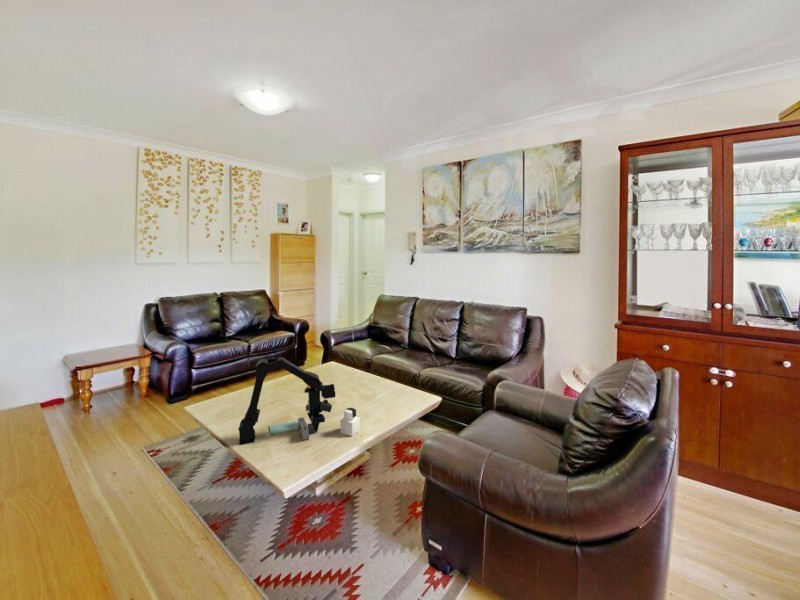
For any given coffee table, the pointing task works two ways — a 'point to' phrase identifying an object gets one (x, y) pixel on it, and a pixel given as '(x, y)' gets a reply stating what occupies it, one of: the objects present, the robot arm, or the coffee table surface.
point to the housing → (303, 429)
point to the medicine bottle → (350, 422)
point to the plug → (311, 429)
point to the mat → (283, 427)
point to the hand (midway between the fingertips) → (315, 429)
